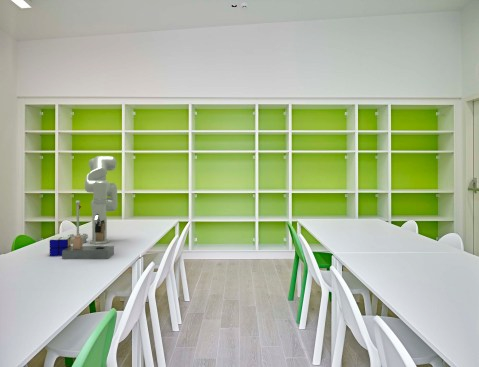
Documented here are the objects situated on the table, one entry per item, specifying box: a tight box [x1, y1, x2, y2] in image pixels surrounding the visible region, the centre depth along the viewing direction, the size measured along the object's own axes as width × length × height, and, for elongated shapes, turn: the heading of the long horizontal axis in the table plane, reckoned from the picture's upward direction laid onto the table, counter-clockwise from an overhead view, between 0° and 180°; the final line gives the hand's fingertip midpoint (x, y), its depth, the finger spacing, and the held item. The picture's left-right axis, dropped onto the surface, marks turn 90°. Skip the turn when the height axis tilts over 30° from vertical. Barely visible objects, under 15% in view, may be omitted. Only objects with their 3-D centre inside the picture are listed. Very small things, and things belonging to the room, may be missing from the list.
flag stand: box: [67, 200, 89, 245], centre depth 249 cm, size 13×13×30 cm
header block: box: [61, 245, 115, 260], centre depth 210 cm, size 12×26×5 cm, turn 94°
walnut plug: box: [96, 222, 105, 241], centre depth 210 cm, size 4×4×11 cm
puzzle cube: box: [49, 235, 72, 257], centre depth 215 cm, size 10×10×10 cm
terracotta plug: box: [72, 236, 83, 249], centre depth 210 cm, size 4×4×11 cm
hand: (100, 231), depth 210 cm, fingers open, 7 cm apart
